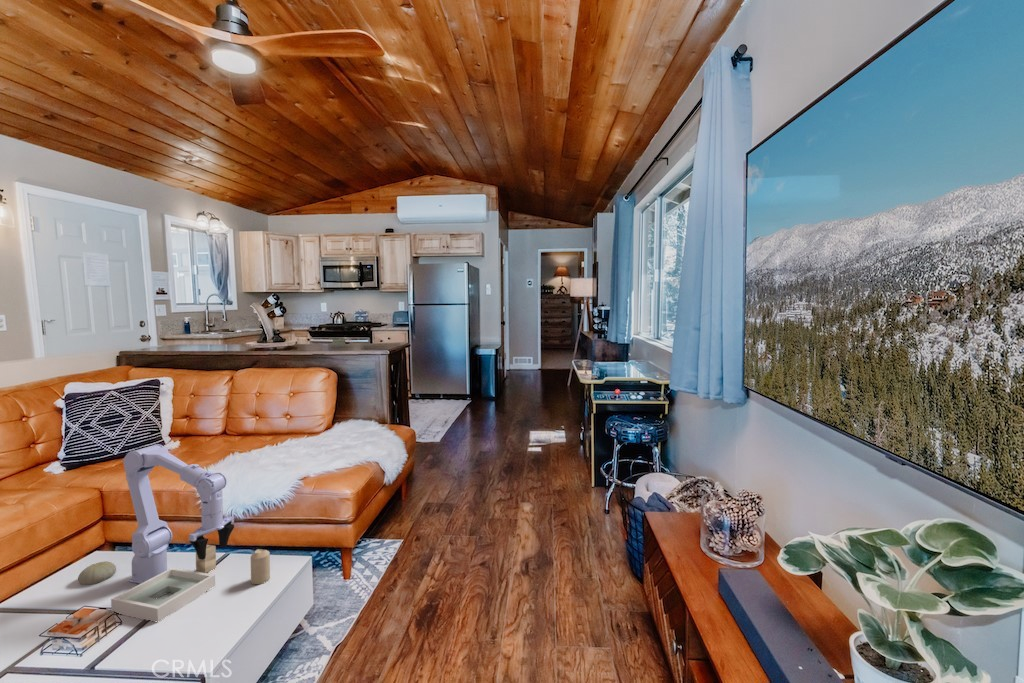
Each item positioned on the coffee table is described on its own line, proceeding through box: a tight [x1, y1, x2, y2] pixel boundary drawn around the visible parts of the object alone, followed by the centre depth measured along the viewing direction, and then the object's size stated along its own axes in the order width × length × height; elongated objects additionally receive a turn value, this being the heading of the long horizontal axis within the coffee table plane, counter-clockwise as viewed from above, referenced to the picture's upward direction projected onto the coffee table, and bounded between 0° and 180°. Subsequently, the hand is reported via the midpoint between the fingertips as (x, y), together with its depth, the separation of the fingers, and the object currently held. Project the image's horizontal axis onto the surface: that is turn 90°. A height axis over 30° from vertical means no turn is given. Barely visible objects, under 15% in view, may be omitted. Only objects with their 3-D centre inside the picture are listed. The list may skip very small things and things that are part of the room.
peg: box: [195, 544, 217, 574], centre depth 153 cm, size 4×4×8 cm
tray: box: [110, 566, 216, 623], centre depth 136 cm, size 18×18×4 cm
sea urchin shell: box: [77, 561, 117, 585], centre depth 148 cm, size 9×8×8 cm
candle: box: [250, 548, 271, 585], centre depth 147 cm, size 6×6×10 cm
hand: (212, 552), depth 146 cm, fingers open, 7 cm apart
